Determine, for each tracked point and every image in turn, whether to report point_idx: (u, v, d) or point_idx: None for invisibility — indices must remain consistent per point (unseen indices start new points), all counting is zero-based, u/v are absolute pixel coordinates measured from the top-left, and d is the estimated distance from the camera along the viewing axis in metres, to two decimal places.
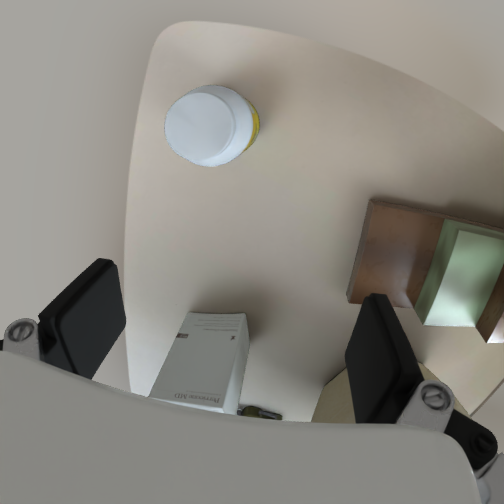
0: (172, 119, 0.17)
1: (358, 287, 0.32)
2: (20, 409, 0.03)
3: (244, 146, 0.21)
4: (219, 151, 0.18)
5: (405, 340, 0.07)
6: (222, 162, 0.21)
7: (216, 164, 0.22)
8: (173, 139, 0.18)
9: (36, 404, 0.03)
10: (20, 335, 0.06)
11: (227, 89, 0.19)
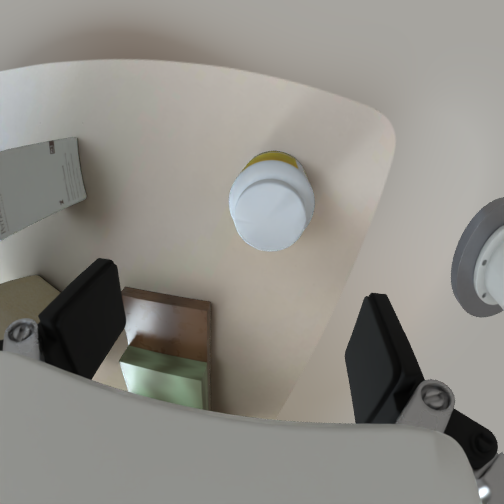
0: (279, 193, 0.18)
1: (133, 301, 0.35)
2: (20, 409, 0.03)
3: None
4: (242, 238, 0.20)
5: (405, 340, 0.07)
6: (232, 217, 0.22)
7: (230, 211, 0.22)
8: (257, 192, 0.18)
9: (36, 404, 0.03)
10: (20, 335, 0.06)
11: (307, 225, 0.22)
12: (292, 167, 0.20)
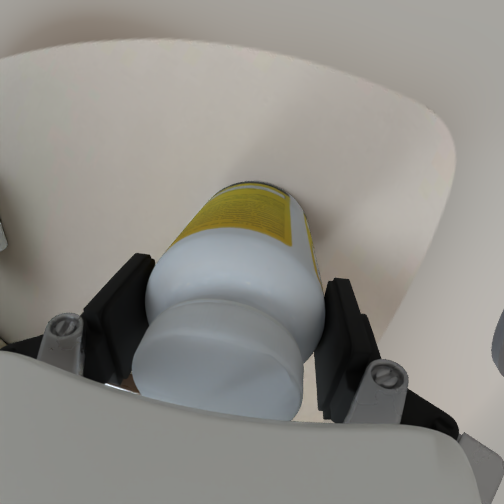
0: (231, 357, 0.06)
1: None
2: (20, 409, 0.03)
3: None
4: None
5: (360, 320, 0.08)
6: None
7: None
8: (172, 350, 0.06)
9: (36, 404, 0.03)
10: (63, 330, 0.07)
11: (307, 358, 0.10)
12: (276, 248, 0.09)
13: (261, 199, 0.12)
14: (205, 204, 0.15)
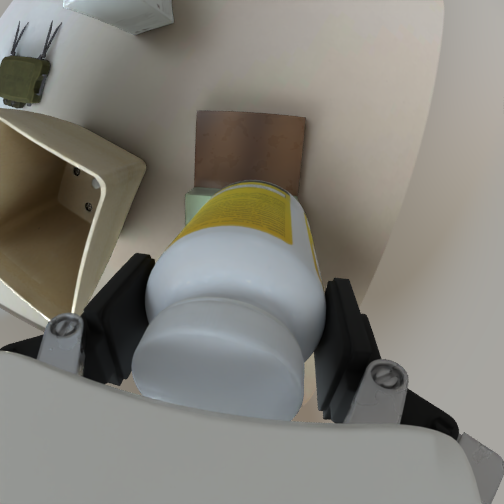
0: (232, 356, 0.06)
1: (216, 116, 0.30)
2: (20, 409, 0.03)
3: None
4: None
5: (360, 320, 0.08)
6: None
7: None
8: (172, 349, 0.06)
9: (36, 404, 0.03)
10: (63, 330, 0.07)
11: None
12: (277, 246, 0.09)
13: (261, 198, 0.12)
14: (205, 203, 0.15)
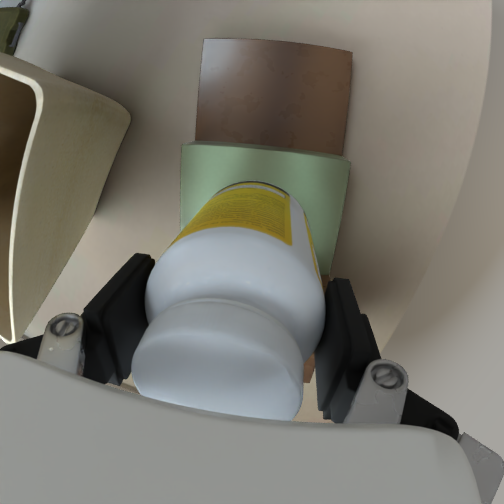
0: (231, 357, 0.06)
1: (230, 44, 0.19)
2: (20, 409, 0.03)
3: None
4: None
5: (360, 320, 0.08)
6: None
7: None
8: (171, 350, 0.06)
9: (36, 404, 0.03)
10: (63, 330, 0.07)
11: (307, 358, 0.10)
12: (276, 247, 0.09)
13: (261, 198, 0.12)
14: None
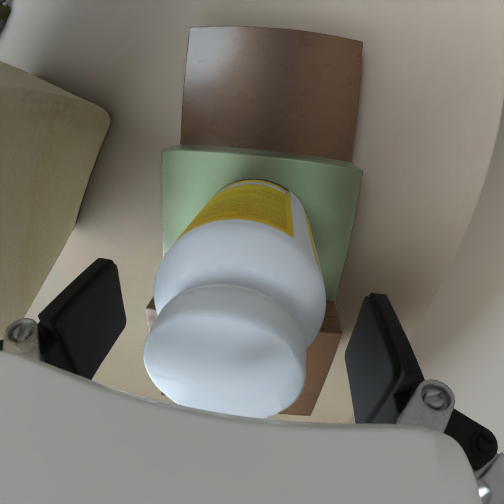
0: (240, 337, 0.07)
1: (220, 33, 0.16)
2: (20, 409, 0.03)
3: None
4: (172, 398, 0.08)
5: (405, 340, 0.07)
6: None
7: None
8: (183, 332, 0.07)
9: (36, 404, 0.03)
10: (20, 335, 0.06)
11: (308, 345, 0.11)
12: (280, 238, 0.09)
13: (263, 194, 0.13)
14: (209, 200, 0.15)
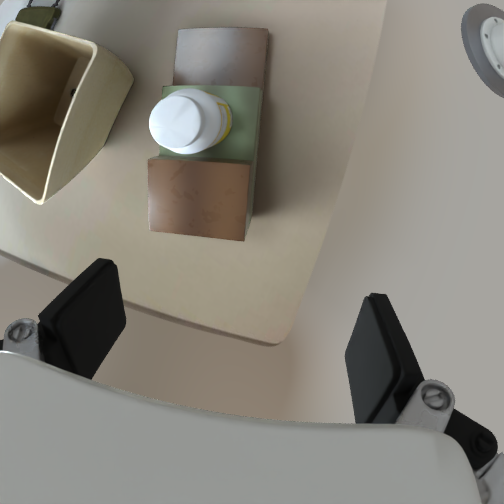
0: (180, 102, 0.21)
1: (193, 32, 0.30)
2: (20, 409, 0.03)
3: (170, 149, 0.26)
4: None
5: (405, 340, 0.07)
6: None
7: None
8: (164, 103, 0.21)
9: (36, 404, 0.03)
10: (20, 335, 0.06)
11: (214, 134, 0.25)
12: (200, 91, 0.24)
13: None
14: None
